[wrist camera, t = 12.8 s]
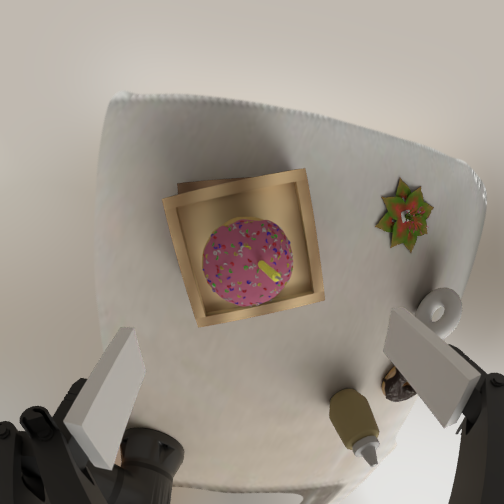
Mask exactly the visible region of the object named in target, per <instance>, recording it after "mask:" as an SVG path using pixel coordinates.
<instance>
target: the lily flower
mask: <svg viewBox="0 0 504 504" xmlns="http://www.w3.org/2000/svg"><path fill="white" fill-rule="evenodd" d="M403 197H404V199H405V200H406V202H404V200H403V199H402V198H403ZM382 199H383V201H384V203H385V204H386V208H387V210H388V212H387V213H386V214H385V215H384V216H383V218H382V219H381V220H380V221H379V223H378V224H377V225H376V226H375V227H378V228H379V229H382V230H383V231H386V232H393V233H392V241H391V243H392V244H391V247H390V248H392V247H394V246H396V245H397V244H398V245H399V244H401V243H404V245H405V246H406V248H407V249H408V250H410V252H412V249H413V247H414V245H415V243H416V240H417V236H421V235H424V234H427V228H426V227H427V223H426V219H427V218H428V217H429V215H430V213H431V210H432V209H433V208H434V207H432V206H429V204H427V203H425V202H424V199H423V194H422V192H421V186H420V188H418V189H417V190H415V191H414V192H412V193H411V190H410V189H409V187H408V186H407V185H406V184H405V183H404V182H402V180H401V178H400V181H399V186H398V188H397V192H396V197H387V198H385V197H382ZM405 210H410V212H409V213H410V214H411V215H410V214H409V213H408V212H407V211H406V212H407V214H406V215H405V218H406V221H405V223H402V218H401V212H403V211H405ZM419 211H422V212H421V213H420V214H418V213H419ZM392 219H394V220H397V221H396V222H395V223H394V222H392ZM407 219H408V220H409V221H408V222H407ZM410 220H411V221H410ZM409 230H410V232H409Z"/></svg>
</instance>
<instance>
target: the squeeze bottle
mask: <svg viewBox="0 0 504 504" xmlns="http://www.w3.org/2000/svg"><path fill="white" fill-rule="evenodd" d="M329 416H330V420H331V422H332V424H333V425H334V427H335V429H336V431H337V433H338V434H339V436H340V438H341V440H342V442H343V443H344V445H345V447H346V448H347V449H350V450H353V452H354V455H355V456H356V457H364V459H365V460H366V461H367V462H368V463H369V465H370V466H371V467H374V466H376V465H377V464H378V462H377V456H376V449H377V448H378V447H379V444H380V443H379V441H378V439H377V437H378V435H379V429H378V426H377V424H376V421H375V418H374V416H373V413H372V411H371V408H370V406H369V403H368V401H367V399H366V398H365V397H364V396H363V395H361V394H360V393H358V392H357V391H356V390H354V389H344V390H341V391H339V392H337V393H336V394H335V395H334V396H333V397H332V398H331V400H330V412H329Z"/></svg>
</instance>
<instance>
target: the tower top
mask: <svg viewBox="0 0 504 504" xmlns="http://www.w3.org/2000/svg"><path fill="white" fill-rule="evenodd" d="M162 202H163V206H164V210H165V214H166V218H167V222H168V226H169V230H170V234H171V238H172V241H173V245H174V249H175V252H176V256H177V260H178V263H179V267H180V270H181V274H182V277H183V280H184V284H185V287H186V290H187V294H188V297H189V300H190V303H191V306H192V309H193V313H194V316H195V319H196V322H197V325H198V328H199V327H204V326H210V325H215V324H221V323H226V322H231V321H236V320H241V319H246V318H251V317H255V316H260V315H265V314H269V313H274V312H278V311H283V310H287V309H291V308H295V307H300V306H304V305H308V304H312V303H316V302H320V301H324V300H325V295H324V286H323V278H322V270H321V262H320V255H319V248H318V241H317V234H316V227H315V221H314V215H313V209H312V203H311V197H310V191H309V186H308V180H307V175H306V170H305V168H303V169H295V170H290V171H284V172H278V173H273V174H268V175H262V176H257V177H252V178H247V179H243V180H238V181H233V182H229V183H224V184H220V185H215V186H211V187H207V188H202V189H198V190H194V191H190V192H186V193H182V194H178V195H174V196H171V197H167V198H164V199H162ZM236 217H257V218H260V219H263V220H270V221H272V222H274V223H275V224H277V225H278V226H279V227H281V228H282V230H283V231H284V233H285V235H286V237H287V238H288V240H289V241H290V242H289V243H290V246H291V249H292V254H293V270H292V274H291V277H290V279H289V280H290V281H289V282H287V284H286V285H285V287H284V288H283V289H282V290H281V291H280V292H279V294H278V295H276V296H275V297H274V298H272V301H270V300H269V301H266V302H264V303H261V304H259V305H258V306H256V305H252V307H251V306H245V307H243V306H238V305H236V304H233V303H230V302H228V301H226V300H224V299H223V298H221V297H220V296H219V295H218V294H217V293H216V292H213V291H214V290H213V291H212V288H211V287H210V286H209V284H208V283H207V281H206V279H205V276H204V273H203V270H202V254H203V249H204V247H205V245H206V242H207V241H208V239H209V237H210V235H211V234H212V232H213V231H214V230H215V229H217V228H219V227H220V226H221V225H223V224H224V223H226V222H227V221H229V220H231V219H233V218H236Z"/></svg>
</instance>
